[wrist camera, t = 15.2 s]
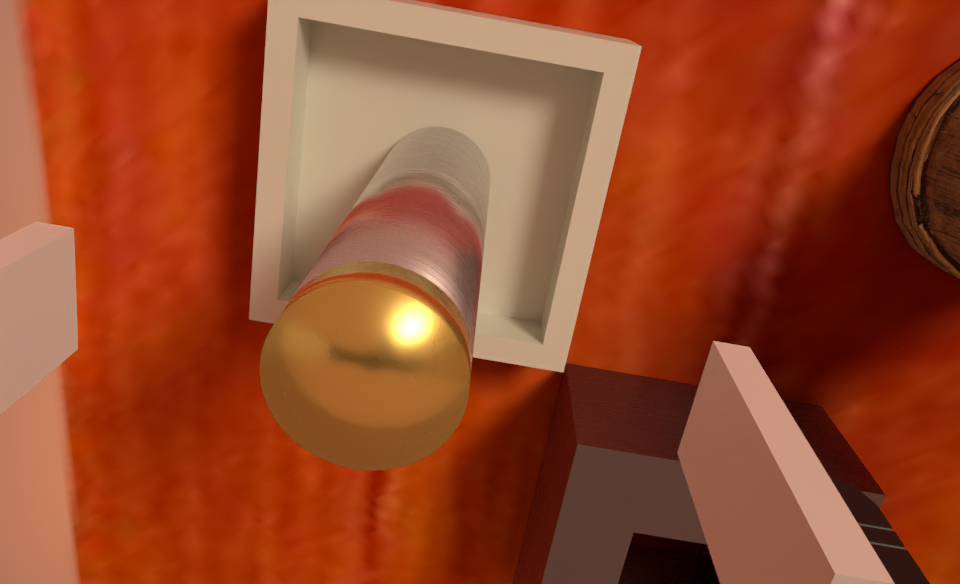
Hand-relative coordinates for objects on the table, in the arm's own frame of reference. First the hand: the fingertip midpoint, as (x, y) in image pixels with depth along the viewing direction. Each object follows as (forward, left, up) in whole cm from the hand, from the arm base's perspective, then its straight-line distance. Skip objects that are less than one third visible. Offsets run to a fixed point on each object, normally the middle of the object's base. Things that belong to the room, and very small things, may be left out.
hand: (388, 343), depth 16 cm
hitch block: (+13, +12, -15) cm, 23 cm away
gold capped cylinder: (0, 0, -14) cm, 14 cm away
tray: (0, 0, -15) cm, 15 cm away
